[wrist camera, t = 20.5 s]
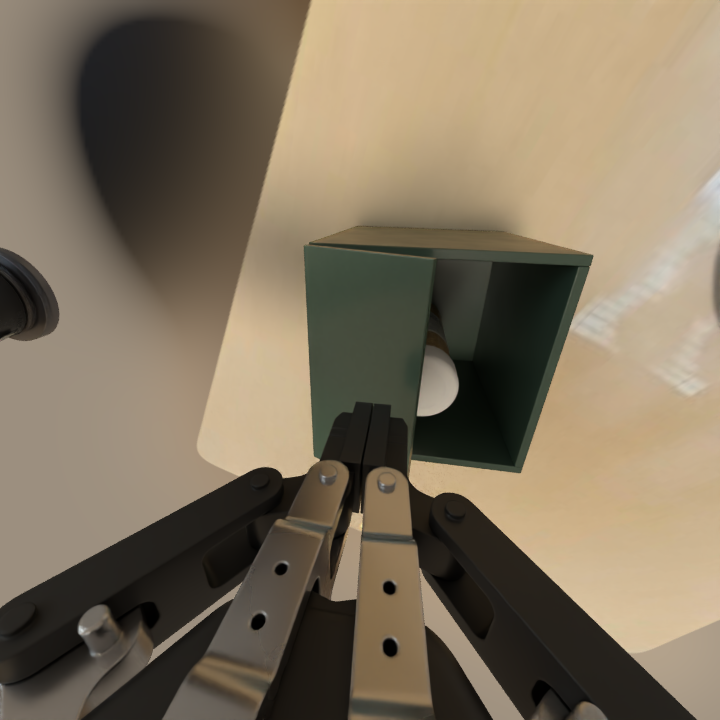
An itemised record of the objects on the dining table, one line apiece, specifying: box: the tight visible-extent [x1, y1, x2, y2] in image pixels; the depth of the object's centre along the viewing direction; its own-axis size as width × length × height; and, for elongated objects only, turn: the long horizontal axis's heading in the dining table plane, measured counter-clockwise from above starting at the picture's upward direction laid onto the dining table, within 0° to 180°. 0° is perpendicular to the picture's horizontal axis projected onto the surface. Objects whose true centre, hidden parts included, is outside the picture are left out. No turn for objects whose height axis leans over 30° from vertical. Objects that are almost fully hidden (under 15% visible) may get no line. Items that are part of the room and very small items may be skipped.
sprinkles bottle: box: [417, 303, 459, 416], centre depth 26 cm, size 5×5×13 cm
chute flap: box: [304, 245, 437, 479], centre depth 16 cm, size 6×13×1 cm, turn 179°
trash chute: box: [309, 226, 593, 473], centre depth 24 cm, size 13×13×16 cm
